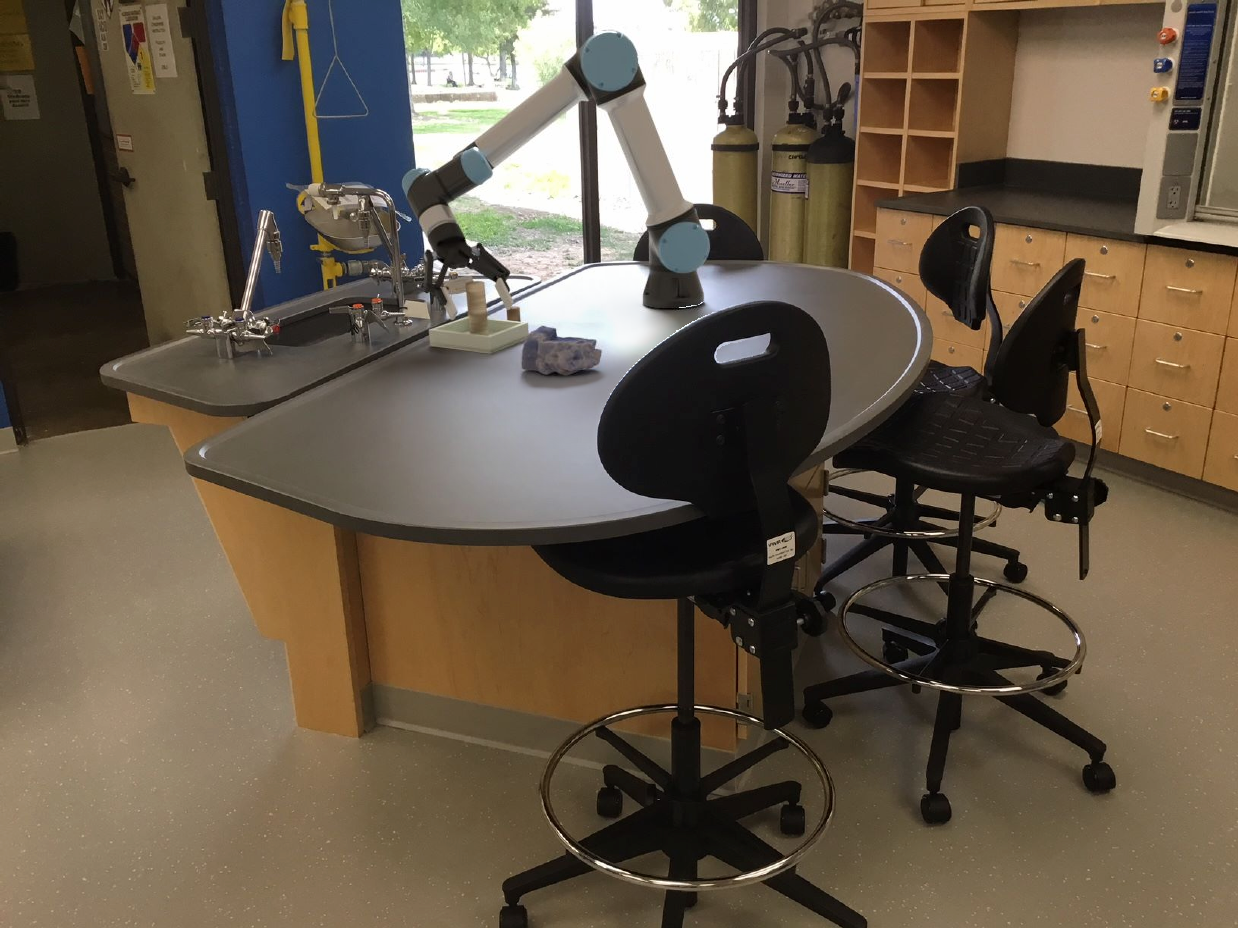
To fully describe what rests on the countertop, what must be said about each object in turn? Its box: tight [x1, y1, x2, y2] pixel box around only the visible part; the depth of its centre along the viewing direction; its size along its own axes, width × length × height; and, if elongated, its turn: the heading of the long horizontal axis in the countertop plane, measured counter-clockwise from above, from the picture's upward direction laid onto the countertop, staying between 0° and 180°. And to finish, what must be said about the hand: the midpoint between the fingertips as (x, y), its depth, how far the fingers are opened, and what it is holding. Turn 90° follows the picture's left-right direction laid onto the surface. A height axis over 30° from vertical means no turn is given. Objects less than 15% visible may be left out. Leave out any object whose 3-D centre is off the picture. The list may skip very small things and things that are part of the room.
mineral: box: [521, 325, 603, 377], centre depth 194 cm, size 14×10×10 cm
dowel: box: [465, 280, 489, 336], centre depth 216 cm, size 4×4×12 cm
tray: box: [428, 316, 530, 355], centre depth 218 cm, size 16×14×4 cm
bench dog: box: [505, 305, 522, 322], centre depth 227 cm, size 3×3×5 cm
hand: (483, 311), depth 214 cm, fingers open, 13 cm apart
